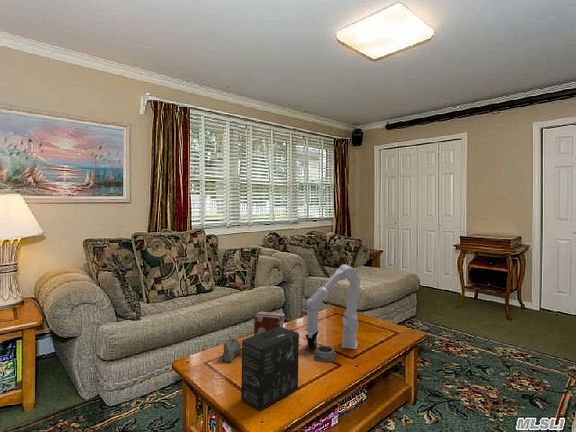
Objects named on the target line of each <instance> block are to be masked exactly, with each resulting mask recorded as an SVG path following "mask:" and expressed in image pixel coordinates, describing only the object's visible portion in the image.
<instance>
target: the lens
mask: <svg viewBox="0 0 576 432" xmlns="http://www.w3.org/2000/svg"><path fill="white" fill-rule="evenodd" d="M306 347H307V350H308V351H312V352H314V351H315V352H316V348H317V347H318V338H316V339H315V342H314V347H313V349H311V348H309V345H308V344H307V346H306Z"/></svg>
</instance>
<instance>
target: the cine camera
mask: <svg viewBox="0 0 576 432" xmlns="http://www.w3.org/2000/svg"><path fill="white" fill-rule="evenodd" d="M285 316H286V315H285V313H281V312H270V311H259V312H256V313H255V315H254V317H253V318H254V319H253V336H254V335H257V334H260V333H263V332H265V331H268V330H271V329H273V328H276V327H278V326H279V327H283V328H285V329H288V330H290V329H289V328H288V327H285V326H284V320H285Z"/></svg>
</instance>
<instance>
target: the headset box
mask: <svg viewBox="0 0 576 432" xmlns="http://www.w3.org/2000/svg"><path fill="white" fill-rule="evenodd" d="M283 327H284V326H283ZM283 327H279V326H278V327H276V328H273V329H271V330H268V331H265V332H263V333H260V334H257V335H254V334H253V335H251V336H250V337H249V336H248V337H246V338H244V339H242V340H241V384H240V385H241V388H240V389H241V391H240V392H241V393H240V399H241V400H242V401H243V402H245V403H246V404H248V405H249V406H251V407H253V408H254V409H257V410H258V411H262V410H264V409H265V408H267V407H268V406H269V407H270V405H273V403H275V402H277V401H279V400H280V399H283V398H285V397H286V396H287V395H289V394H290V393H293V392H294V391H296V390H297V389H298V388H299V355H300V354H299V353H300V350H299V348H300V347H299V346H300V345H299V344H300V333H299V332H298V331H294V330H292V329H289V328H287V329H285V328H286V327H284V328H283ZM288 329H289V330H288Z"/></svg>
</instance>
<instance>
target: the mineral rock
mask: <svg viewBox="0 0 576 432" xmlns="http://www.w3.org/2000/svg"><path fill="white" fill-rule="evenodd" d="M241 351H242V342H240V341H239V340H238V339H236V338H233V337H230V338H229V339H228V340H227V341H226V342H224V343H223V352H222V359H221V360H222V361H224V362H226V363H228V362H229V363H230V362H233V360H234V359H235V357H236V356H237V355H238V354H240V353H241Z"/></svg>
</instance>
